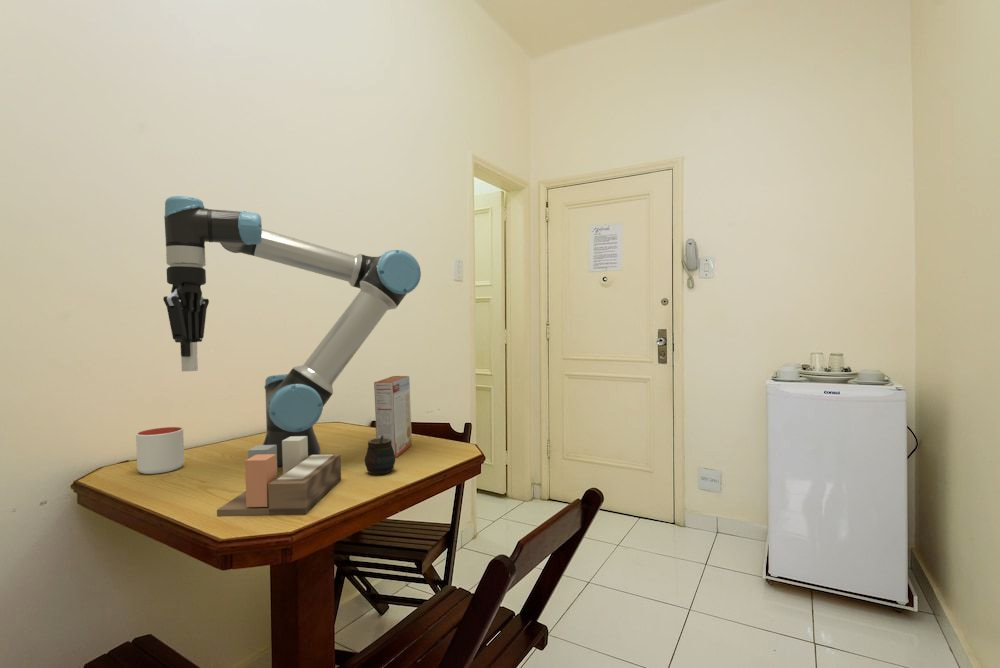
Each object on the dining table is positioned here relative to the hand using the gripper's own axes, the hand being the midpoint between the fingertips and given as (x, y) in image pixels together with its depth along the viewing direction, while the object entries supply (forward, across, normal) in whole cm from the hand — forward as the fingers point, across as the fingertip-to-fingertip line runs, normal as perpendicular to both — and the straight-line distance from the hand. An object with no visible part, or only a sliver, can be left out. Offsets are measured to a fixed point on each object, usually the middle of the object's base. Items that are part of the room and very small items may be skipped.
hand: (189, 370), depth 114 cm
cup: (+27, -14, -17) cm, 35 cm away
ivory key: (+25, 0, +23) cm, 34 cm away
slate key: (+25, +8, +20) cm, 33 cm away
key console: (+26, +8, +25) cm, 37 cm away
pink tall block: (+25, +16, +23) cm, 38 cm away
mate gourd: (+27, -8, +41) cm, 50 cm away
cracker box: (+27, -28, +40) cm, 56 cm away
